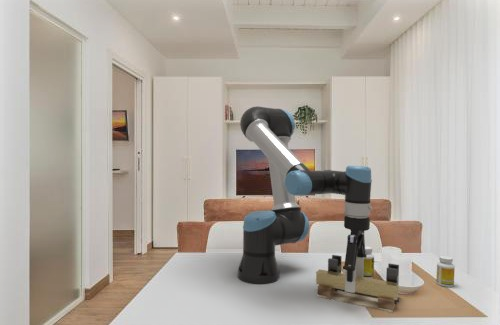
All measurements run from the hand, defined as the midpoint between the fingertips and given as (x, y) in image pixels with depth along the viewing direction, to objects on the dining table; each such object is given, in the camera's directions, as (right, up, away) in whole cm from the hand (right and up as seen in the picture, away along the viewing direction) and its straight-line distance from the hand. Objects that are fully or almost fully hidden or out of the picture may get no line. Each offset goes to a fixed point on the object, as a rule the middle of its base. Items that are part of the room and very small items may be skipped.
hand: (354, 284), depth 106 cm
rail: (0, -2, 0) cm, 2 cm away
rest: (0, -5, 0) cm, 5 cm away
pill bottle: (+10, -5, +21) cm, 23 cm away
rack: (+4, -5, +5) cm, 8 cm away
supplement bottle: (+36, -6, +14) cm, 39 cm away
